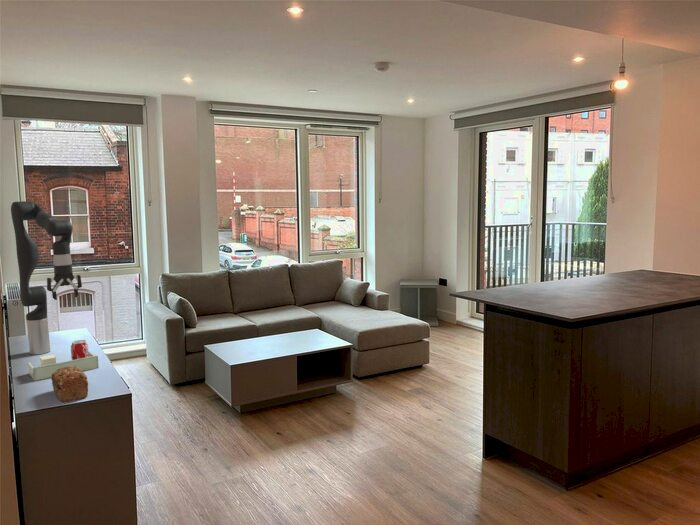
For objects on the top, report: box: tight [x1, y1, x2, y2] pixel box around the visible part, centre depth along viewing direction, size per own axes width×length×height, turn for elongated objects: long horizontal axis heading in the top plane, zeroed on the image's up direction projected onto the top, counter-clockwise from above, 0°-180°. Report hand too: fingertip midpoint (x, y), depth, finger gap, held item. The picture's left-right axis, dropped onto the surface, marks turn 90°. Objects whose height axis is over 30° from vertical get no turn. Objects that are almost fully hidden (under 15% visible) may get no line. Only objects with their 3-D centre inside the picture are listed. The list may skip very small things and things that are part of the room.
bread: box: [50, 366, 89, 403], centre depth 216 cm, size 19×11×10 cm, turn 35°
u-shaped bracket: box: [27, 350, 100, 382], centre depth 246 cm, size 13×26×6 cm, turn 129°
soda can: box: [70, 339, 89, 360], centre depth 250 cm, size 7×7×12 cm
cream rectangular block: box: [39, 353, 57, 366], centre depth 242 cm, size 6×5×8 cm
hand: (65, 298), depth 257 cm, fingers open, 8 cm apart
